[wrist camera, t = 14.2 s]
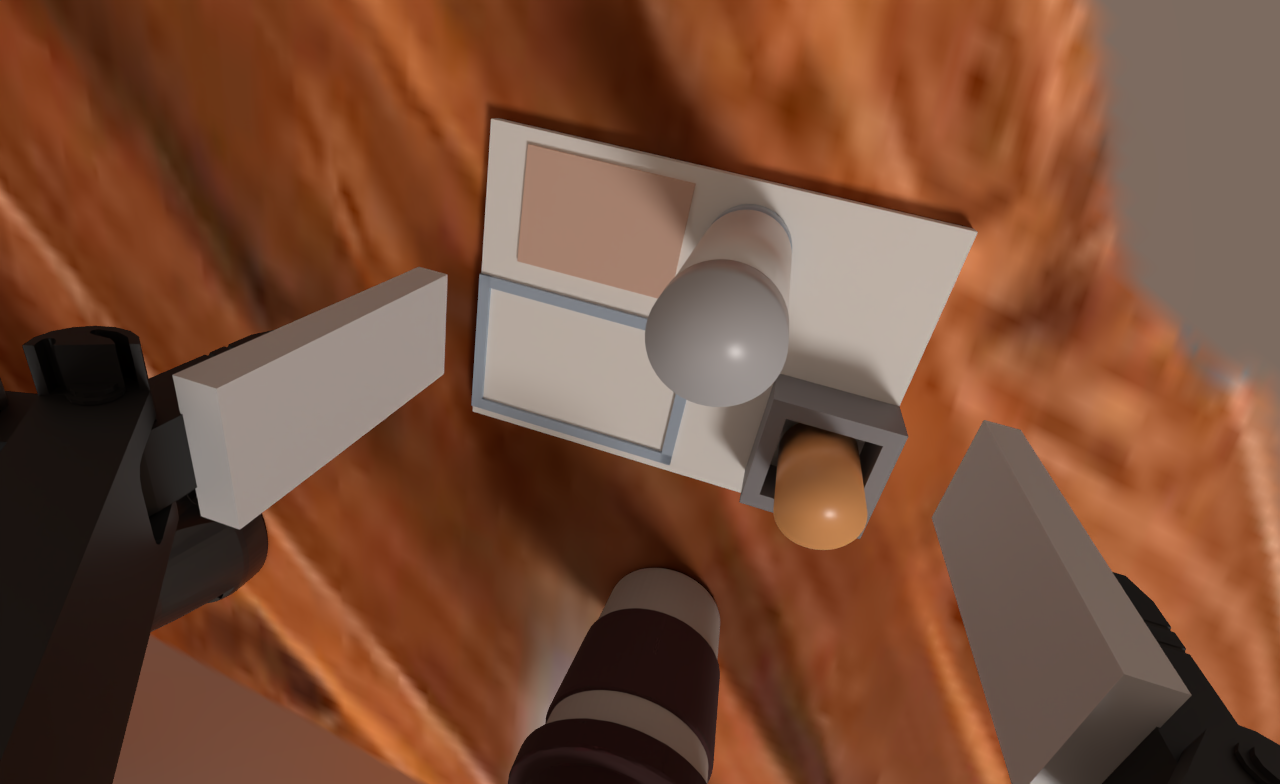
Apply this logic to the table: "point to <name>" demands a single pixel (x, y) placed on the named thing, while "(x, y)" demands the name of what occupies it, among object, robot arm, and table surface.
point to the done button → (819, 488)
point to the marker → (726, 311)
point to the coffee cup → (635, 692)
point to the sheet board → (638, 274)
